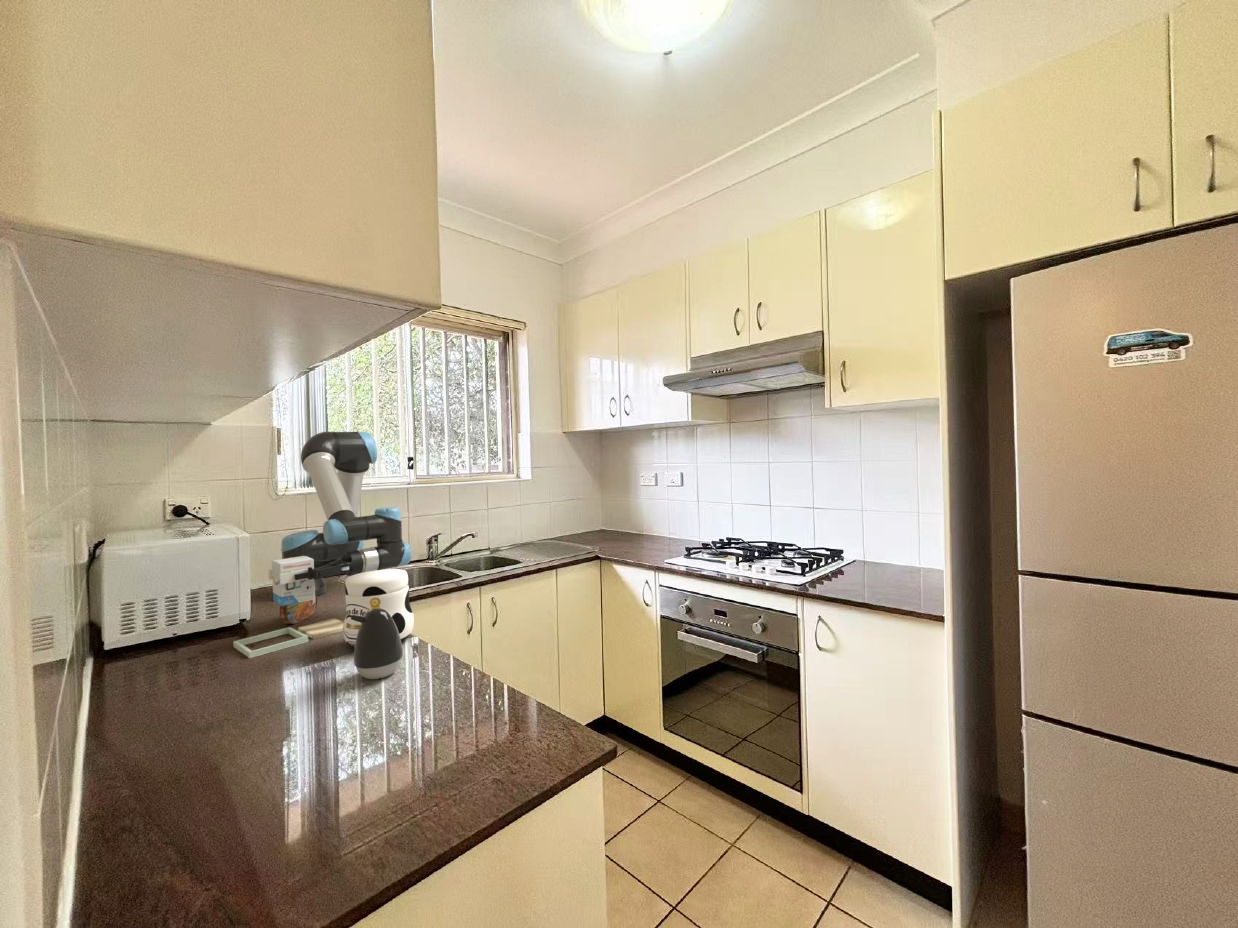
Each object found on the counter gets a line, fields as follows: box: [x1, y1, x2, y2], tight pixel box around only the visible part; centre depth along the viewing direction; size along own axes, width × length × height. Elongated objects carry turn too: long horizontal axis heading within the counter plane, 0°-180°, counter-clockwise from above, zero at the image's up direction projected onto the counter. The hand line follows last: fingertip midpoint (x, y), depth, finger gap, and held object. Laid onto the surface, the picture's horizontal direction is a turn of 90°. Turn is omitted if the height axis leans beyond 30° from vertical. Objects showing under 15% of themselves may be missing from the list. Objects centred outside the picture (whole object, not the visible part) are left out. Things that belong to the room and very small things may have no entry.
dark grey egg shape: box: [351, 608, 404, 680], centre depth 117 cm, size 10×10×15 cm
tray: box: [233, 626, 309, 659], centre depth 140 cm, size 14×14×2 cm
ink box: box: [271, 556, 315, 607], centre depth 144 cm, size 9×8×12 cm
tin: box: [279, 594, 318, 625], centre depth 161 cm, size 15×3×8 cm, turn 179°
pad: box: [297, 617, 344, 640], centre depth 150 cm, size 12×10×1 cm
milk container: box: [342, 568, 415, 649], centre depth 138 cm, size 17×17×18 cm
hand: (274, 577), depth 141 cm, fingers closed on ink box, 9 cm apart
